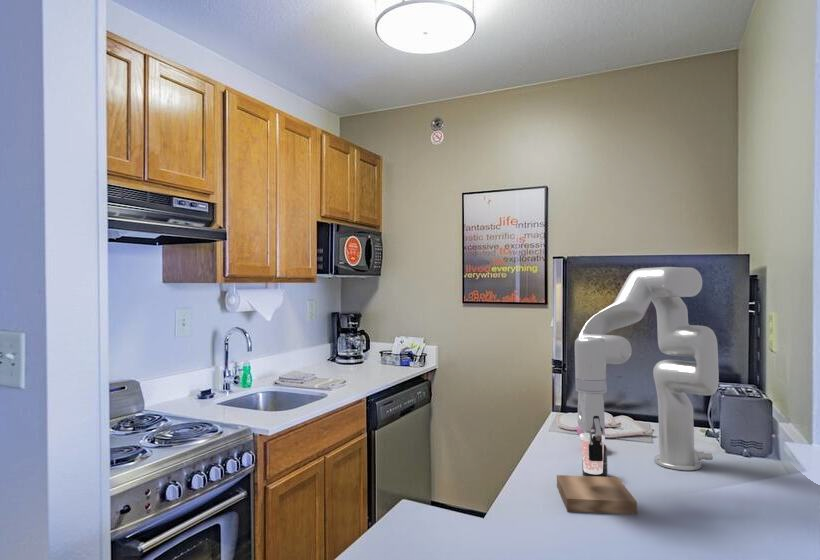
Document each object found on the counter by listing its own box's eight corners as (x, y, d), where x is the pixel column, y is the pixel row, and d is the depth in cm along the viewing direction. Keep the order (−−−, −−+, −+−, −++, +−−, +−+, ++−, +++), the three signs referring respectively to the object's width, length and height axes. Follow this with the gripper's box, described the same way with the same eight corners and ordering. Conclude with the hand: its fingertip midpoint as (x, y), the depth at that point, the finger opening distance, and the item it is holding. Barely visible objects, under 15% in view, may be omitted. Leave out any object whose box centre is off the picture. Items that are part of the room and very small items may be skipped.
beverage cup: (579, 473, 124) (578, 417, 125) (581, 466, 130) (579, 412, 130) (605, 476, 122) (604, 419, 122) (606, 468, 128) (604, 414, 128)
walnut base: (618, 488, 132) (618, 477, 133) (637, 514, 117) (636, 501, 117) (556, 486, 135) (556, 475, 135) (567, 511, 119) (566, 498, 119)
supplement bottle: (610, 481, 138) (608, 437, 138) (584, 479, 139) (583, 436, 140) (605, 472, 145) (604, 431, 145) (580, 471, 146) (579, 430, 146)
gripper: (569, 379, 136) (571, 446, 135) (582, 391, 119) (584, 467, 118) (598, 380, 135) (600, 446, 134) (615, 391, 118) (617, 468, 117)
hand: (592, 455), depth 126 cm, fingers closed on beverage cup, 6 cm apart
